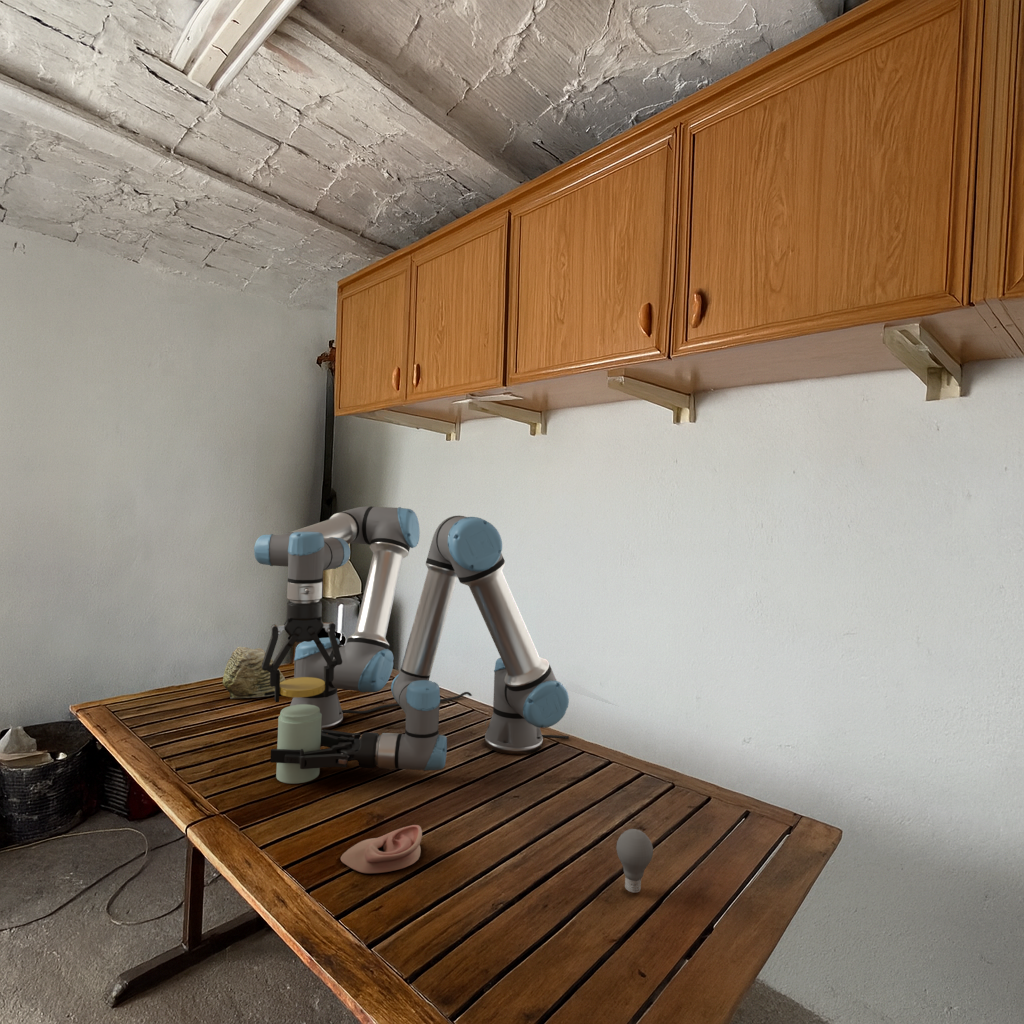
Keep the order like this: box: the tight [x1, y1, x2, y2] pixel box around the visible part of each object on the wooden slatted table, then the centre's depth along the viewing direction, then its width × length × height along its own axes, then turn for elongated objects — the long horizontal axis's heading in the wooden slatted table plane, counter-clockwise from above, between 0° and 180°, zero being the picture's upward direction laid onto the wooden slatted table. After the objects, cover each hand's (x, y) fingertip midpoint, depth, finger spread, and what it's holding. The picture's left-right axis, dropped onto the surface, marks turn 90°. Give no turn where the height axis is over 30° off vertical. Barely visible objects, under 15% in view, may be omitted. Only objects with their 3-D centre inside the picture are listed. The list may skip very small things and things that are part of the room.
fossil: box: [222, 646, 286, 699], centre depth 198 cm, size 9×18×15 cm, turn 132°
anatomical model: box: [340, 824, 423, 874], centre depth 112 cm, size 13×4×12 cm
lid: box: [279, 677, 325, 698], centre depth 144 cm, size 10×10×2 cm
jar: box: [275, 704, 322, 785], centre depth 144 cm, size 9×9×15 cm
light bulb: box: [615, 828, 654, 894], centre depth 106 cm, size 6×6×10 cm
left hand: (301, 697), depth 144 cm, fingers closed on lid, 10 cm apart
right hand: (279, 746), depth 144 cm, fingers closed on jar, 9 cm apart
